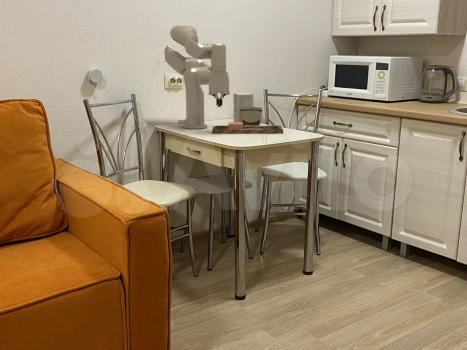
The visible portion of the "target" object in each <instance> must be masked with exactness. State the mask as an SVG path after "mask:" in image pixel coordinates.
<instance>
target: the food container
mask: <svg viewBox="0 0 467 350" xmlns="http://www.w3.org/2000/svg"><path fill="white" fill-rule="evenodd" d="M240 112H241V118H242V122H243V126H261V118H262V113H263V108H262V107H258V106H254V107H243V108H241V109H240Z"/></svg>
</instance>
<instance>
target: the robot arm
mask: <svg viewBox="0 0 467 350" xmlns="http://www.w3.org/2000/svg"><path fill="white" fill-rule="evenodd" d="M169 33H170V34H169V35H171V38H172V39H173V40H174V41H176V42H177V43H179V44H181V45H182V46H184V47H185V49H184V50H185V52H186V54H187V55H189V56H190V57H189V56H188V57H186V56H183V55H182V54H181V53H180V52H178V51H174V50H172V49H171V48H169V47H168V46H167V47H166V48H165V51H164V52H165V53H164V54H165V60H166V62H167V63H168V64H167V63H166V62H165V63H166V64H167V65H168V66H169V67H170V68H172V69H173V70H174V71H175V72H176V73H178V75H181V76H183V83H184V87H185V110H186V111H185V117H186V118H185V119H178V120H177V123H178V124H179V125H181V124H182V125H183V128H184V129H190V130H191V129H192V130H198V129H206V128H208V125H207V124H206V123H205V93H204V90H203V88H202V86H206V85H207V86H208V95H209V96H212V97H214V99H216V100H215V101H216V104H215V105H216V106H217V108H221V107H222V106H223V99H224V98H225V96H229V95H230V94H231V92H230V79H229V78H230V77H229V73H228V72H227V47H226V45H225V43H199V36H198V32H197V30H196V28H195V27H193V26H192V25H175V26H173V27H172V28H171V29H170V32H169ZM204 60H210V65H209V64H208V63H207V62H205V61H204ZM218 94H220V96H219V95H218Z"/></svg>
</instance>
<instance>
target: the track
mask: <svg viewBox="0 0 467 350" xmlns="http://www.w3.org/2000/svg"><path fill="white" fill-rule="evenodd" d="M279 133H281V134H280V135H282V134H284V128H283V126H282V125H260V126H243V129H228V125H213V126H212V132H211V134H212V135H213V134H221V135H222V134H225V135H227V134H235V135H236V134H237V135H238V134H240V135H241V134H245V135H247V134H254V135H255V134H257V135H258V134H259V135H260V134H261V135H262V134H263V135H265V134H266V135H267V134H270V135H271V134H272V135H275V134H278V135H279Z"/></svg>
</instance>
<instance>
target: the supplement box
mask: <svg viewBox="0 0 467 350" xmlns="http://www.w3.org/2000/svg"><path fill="white" fill-rule="evenodd" d="M232 97H233V122H242V118H241V112H240V109H241V108H243V107H255V105H254V99H255V98H254V94H253V93H251V92H234V93H233V96H232Z"/></svg>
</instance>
